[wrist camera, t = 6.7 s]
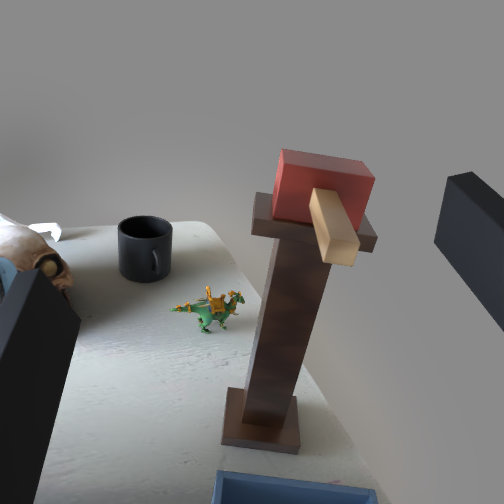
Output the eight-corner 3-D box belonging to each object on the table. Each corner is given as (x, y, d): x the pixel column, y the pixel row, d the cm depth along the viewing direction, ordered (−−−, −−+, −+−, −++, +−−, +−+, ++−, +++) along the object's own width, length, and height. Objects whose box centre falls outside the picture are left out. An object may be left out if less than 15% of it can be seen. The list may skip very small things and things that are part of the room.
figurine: (244, 329, 60) (251, 288, 56) (170, 341, 55) (172, 297, 51) (237, 316, 62) (244, 276, 58) (166, 327, 58) (168, 285, 54)
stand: (216, 444, 42) (253, 220, 29) (222, 393, 49) (256, 189, 35) (302, 455, 43) (380, 239, 29) (297, 403, 49) (360, 205, 35)
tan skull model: (59, 347, 51) (37, 262, 45) (-69, 344, 50) (-110, 258, 44) (100, 285, 65) (87, 214, 59) (-1, 282, 64) (-25, 210, 58)
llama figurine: (-27, 277, 70) (66, 237, 74) (-73, 230, 63) (34, 189, 67) (-26, 272, 72) (66, 233, 76) (-70, 226, 64) (34, 185, 69)
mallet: (273, 277, 22) (288, 207, 20) (272, 197, 33) (281, 148, 31) (388, 293, 22) (415, 227, 20) (348, 209, 34) (362, 161, 31)
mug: (132, 296, 63) (131, 250, 59) (113, 260, 71) (111, 218, 67) (183, 284, 68) (186, 242, 64) (160, 252, 76) (161, 213, 72)
